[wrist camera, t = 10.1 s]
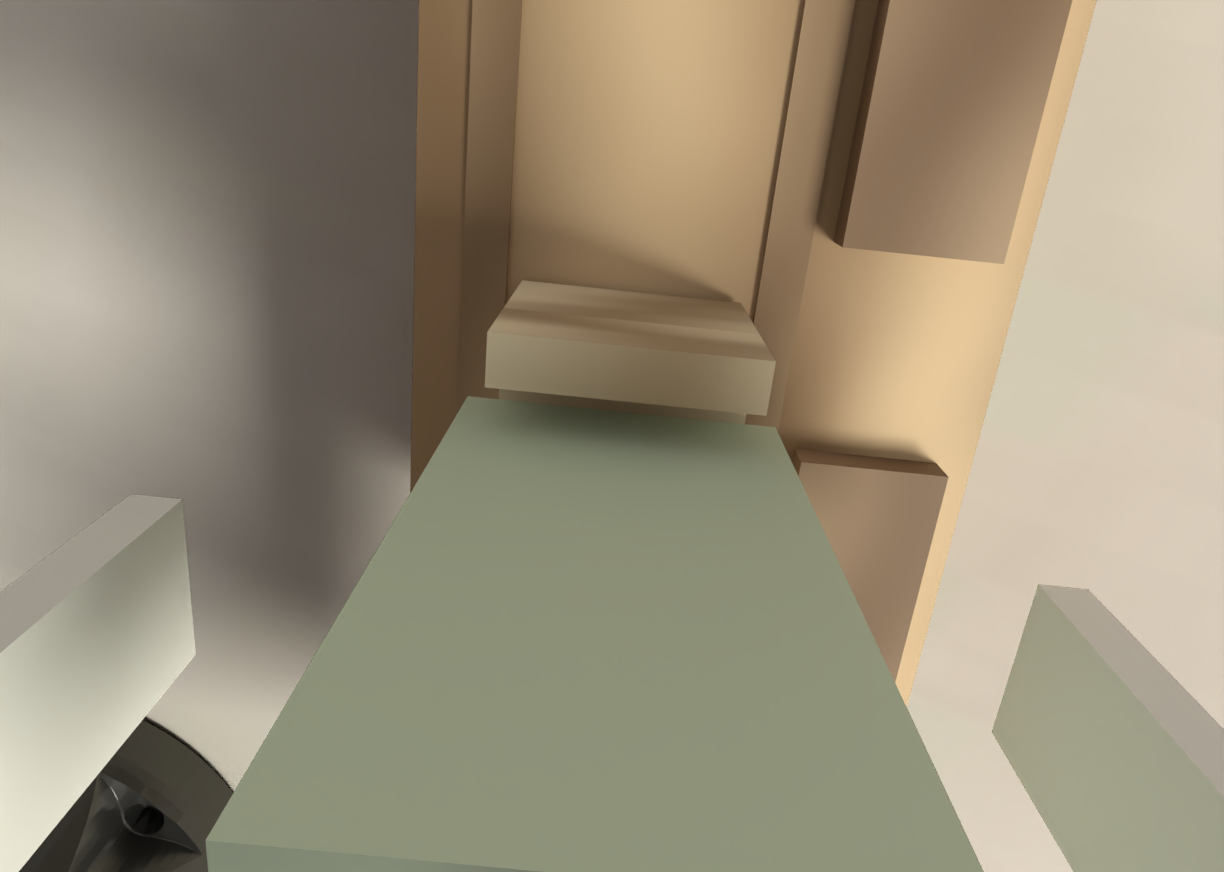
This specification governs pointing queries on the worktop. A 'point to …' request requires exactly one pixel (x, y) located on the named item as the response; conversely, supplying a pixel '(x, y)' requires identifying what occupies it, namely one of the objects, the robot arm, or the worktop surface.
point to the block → (596, 675)
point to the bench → (760, 221)
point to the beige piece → (629, 353)
